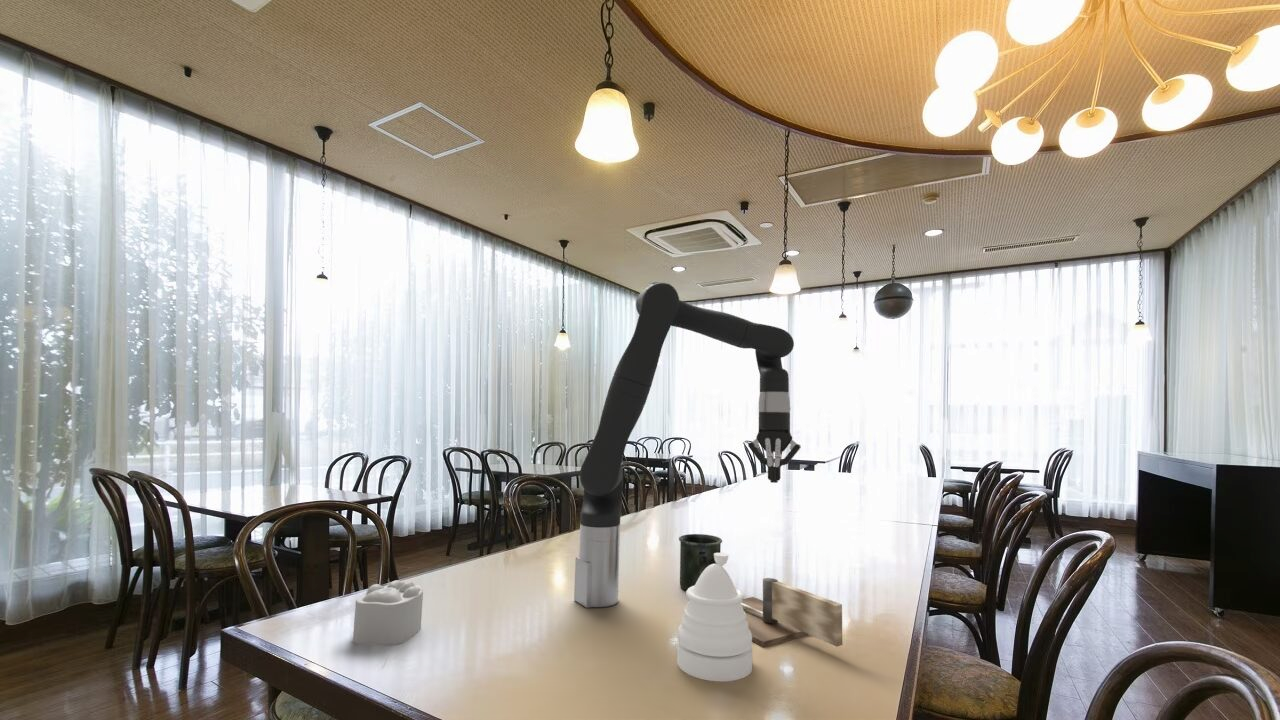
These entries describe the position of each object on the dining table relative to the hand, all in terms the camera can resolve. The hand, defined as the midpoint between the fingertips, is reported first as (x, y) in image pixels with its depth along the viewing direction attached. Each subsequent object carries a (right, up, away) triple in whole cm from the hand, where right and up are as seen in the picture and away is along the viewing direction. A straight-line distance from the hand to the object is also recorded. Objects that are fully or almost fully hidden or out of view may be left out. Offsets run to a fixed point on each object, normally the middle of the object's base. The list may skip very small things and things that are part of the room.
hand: (774, 482), depth 134 cm
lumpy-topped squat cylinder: (-80, -23, -28) cm, 88 cm away
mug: (-18, -27, +2) cm, 32 cm away
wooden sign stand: (-8, -25, -19) cm, 32 cm away
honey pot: (-20, -23, -39) cm, 49 cm away
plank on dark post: (-5, -23, -24) cm, 34 cm away
